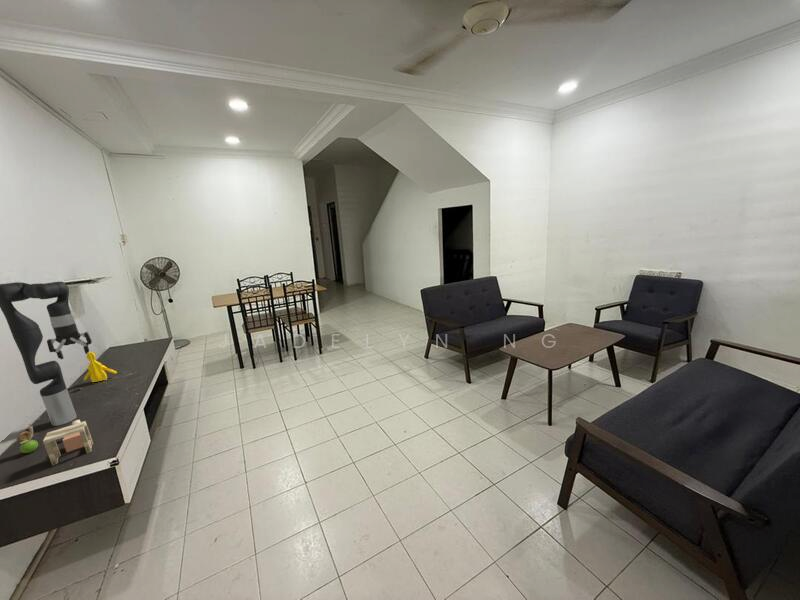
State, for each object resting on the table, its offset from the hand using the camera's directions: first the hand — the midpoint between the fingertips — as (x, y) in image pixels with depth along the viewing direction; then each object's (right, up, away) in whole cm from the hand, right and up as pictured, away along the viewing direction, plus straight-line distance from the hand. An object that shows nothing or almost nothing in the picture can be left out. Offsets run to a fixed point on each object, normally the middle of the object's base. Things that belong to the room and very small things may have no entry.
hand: (74, 356), depth 152 cm
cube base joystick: (+6, -40, -4) cm, 40 cm away
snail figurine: (-11, -42, -8) cm, 44 cm away
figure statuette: (-47, -29, +62) cm, 83 cm away
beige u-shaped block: (+13, -41, -13) cm, 45 cm away
